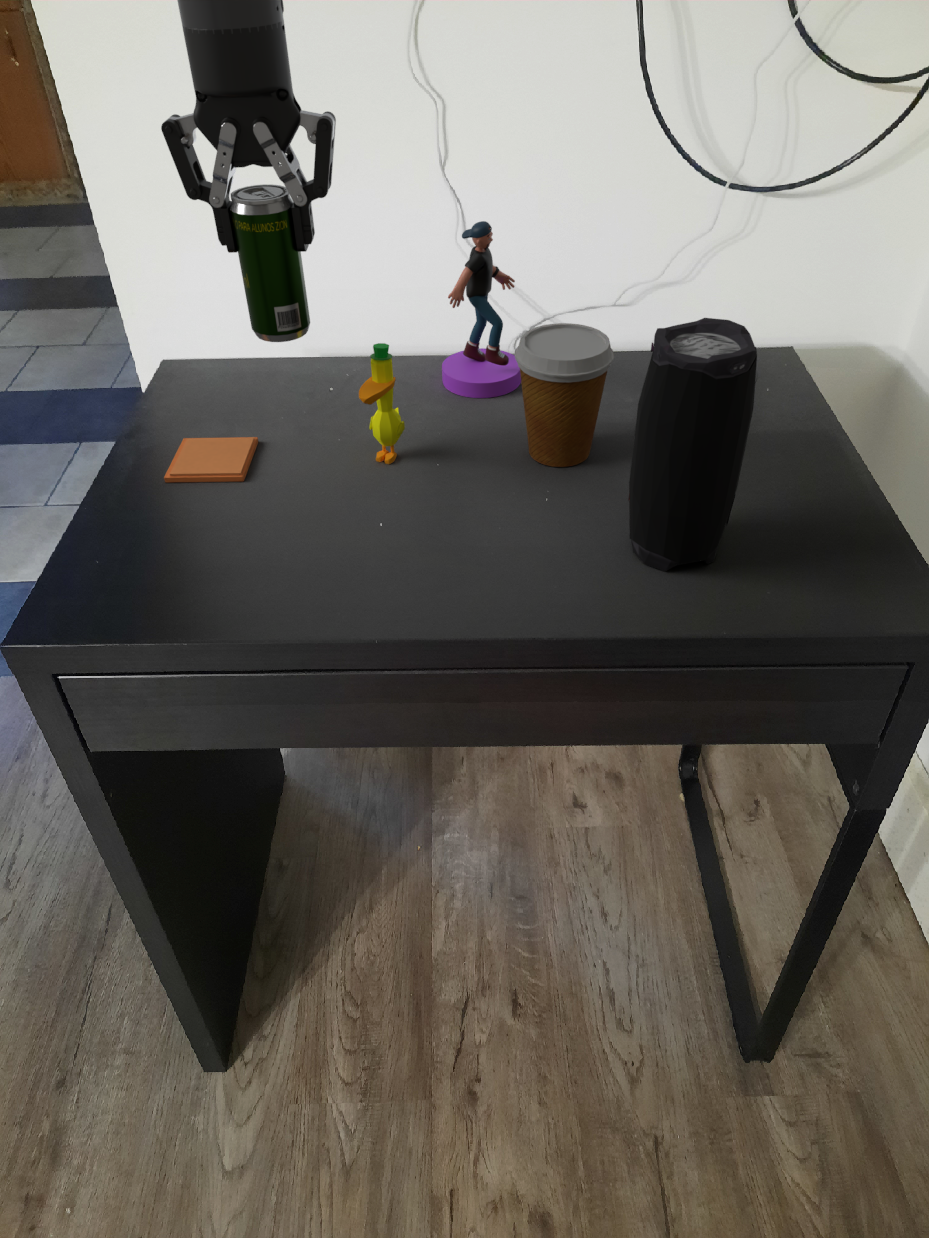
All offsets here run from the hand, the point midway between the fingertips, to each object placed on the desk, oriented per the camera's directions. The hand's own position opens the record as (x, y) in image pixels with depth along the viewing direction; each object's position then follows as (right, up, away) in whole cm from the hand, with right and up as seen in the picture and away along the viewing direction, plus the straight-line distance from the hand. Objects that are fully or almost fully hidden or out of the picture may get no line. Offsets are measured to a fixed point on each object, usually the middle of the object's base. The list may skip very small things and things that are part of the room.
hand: (269, 248), depth 78 cm
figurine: (+19, -4, +29) cm, 35 cm away
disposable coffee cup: (+27, -15, +16) cm, 34 cm away
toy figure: (+9, -16, +15) cm, 24 cm away
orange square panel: (-9, -16, +16) cm, 24 cm away
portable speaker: (+36, -26, +2) cm, 44 cm away
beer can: (0, -6, +5) cm, 8 cm away
